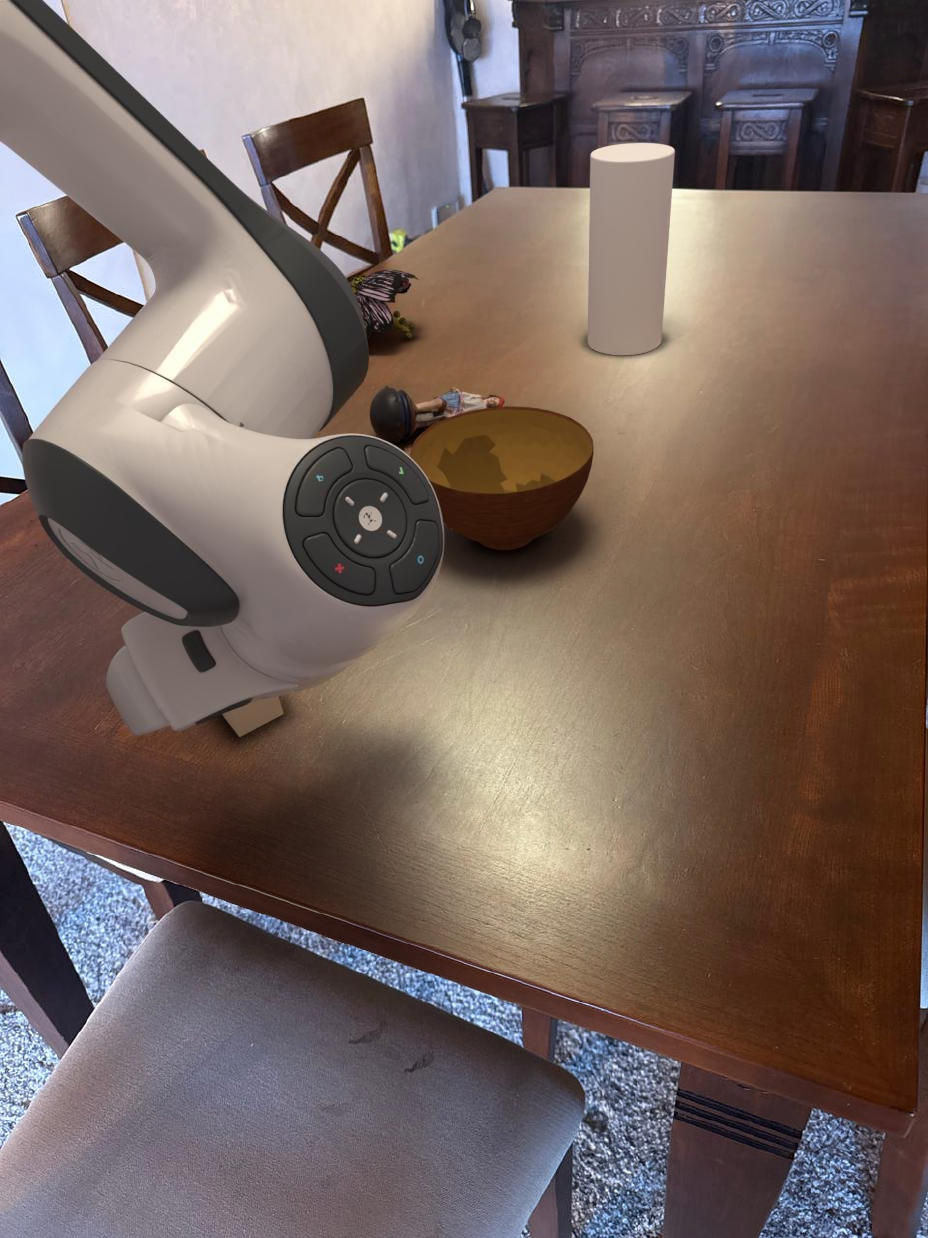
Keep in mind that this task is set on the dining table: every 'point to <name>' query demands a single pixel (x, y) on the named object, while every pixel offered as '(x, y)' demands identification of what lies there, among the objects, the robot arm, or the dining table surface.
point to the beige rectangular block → (253, 715)
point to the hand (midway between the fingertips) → (256, 654)
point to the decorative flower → (381, 299)
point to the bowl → (505, 471)
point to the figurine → (420, 411)
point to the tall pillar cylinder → (628, 246)
